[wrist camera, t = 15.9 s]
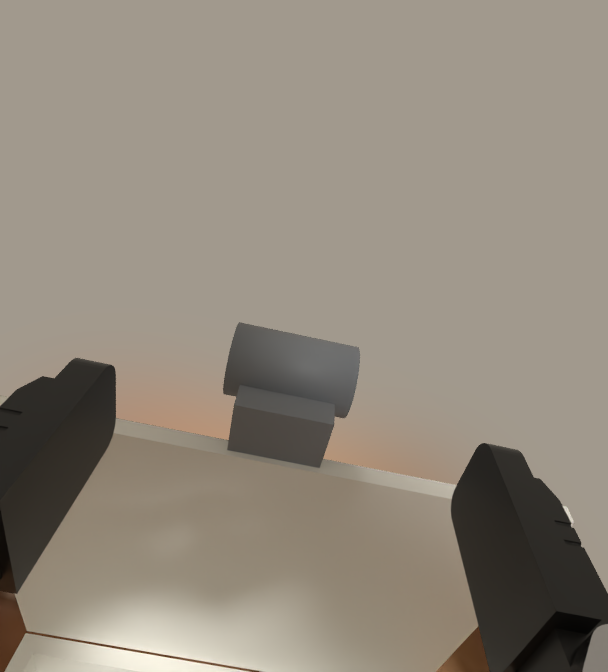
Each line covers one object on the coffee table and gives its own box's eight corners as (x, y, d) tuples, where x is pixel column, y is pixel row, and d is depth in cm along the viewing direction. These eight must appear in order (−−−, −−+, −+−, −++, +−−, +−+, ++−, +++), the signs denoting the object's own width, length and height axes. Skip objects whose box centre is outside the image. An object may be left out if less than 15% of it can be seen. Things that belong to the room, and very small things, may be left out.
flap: (412, 697, 24) (405, 624, 27) (633, 459, 13) (581, 380, 16) (27, 630, 23) (62, 563, 26) (-79, 314, 12) (2, 258, 15)
